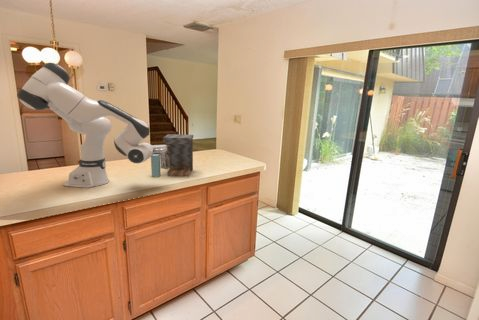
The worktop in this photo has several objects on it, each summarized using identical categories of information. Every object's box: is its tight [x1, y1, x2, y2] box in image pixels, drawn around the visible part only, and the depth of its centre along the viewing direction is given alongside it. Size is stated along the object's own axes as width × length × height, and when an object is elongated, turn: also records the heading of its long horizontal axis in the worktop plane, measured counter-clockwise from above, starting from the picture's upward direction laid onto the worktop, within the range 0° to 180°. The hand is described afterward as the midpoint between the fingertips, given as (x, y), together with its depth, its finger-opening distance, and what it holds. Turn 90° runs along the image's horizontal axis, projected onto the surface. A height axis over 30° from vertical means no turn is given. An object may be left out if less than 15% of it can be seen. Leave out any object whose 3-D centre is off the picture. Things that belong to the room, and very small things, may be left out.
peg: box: [150, 153, 161, 178], centre depth 161 cm, size 4×4×14 cm
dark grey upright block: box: [162, 133, 194, 177], centre depth 168 cm, size 17×16×26 cm
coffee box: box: [159, 144, 170, 169], centre depth 184 cm, size 9×6×16 cm
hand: (151, 147), depth 147 cm, fingers open, 8 cm apart
